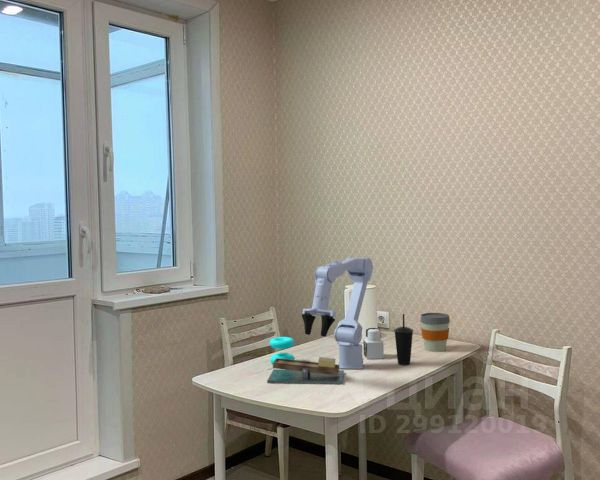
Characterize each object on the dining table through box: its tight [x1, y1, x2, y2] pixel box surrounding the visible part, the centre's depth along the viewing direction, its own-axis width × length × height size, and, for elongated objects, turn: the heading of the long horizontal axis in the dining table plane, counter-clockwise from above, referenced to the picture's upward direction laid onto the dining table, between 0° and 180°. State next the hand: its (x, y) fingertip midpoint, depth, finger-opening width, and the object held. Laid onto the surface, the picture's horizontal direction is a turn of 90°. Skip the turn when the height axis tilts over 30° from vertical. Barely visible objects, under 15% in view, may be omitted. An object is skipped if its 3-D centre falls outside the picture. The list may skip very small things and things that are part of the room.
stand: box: [266, 360, 345, 385], centre depth 210 cm, size 27×14×5 cm, turn 83°
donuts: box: [269, 336, 296, 365], centre depth 231 cm, size 10×10×10 cm
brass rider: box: [318, 356, 336, 369], centre depth 209 cm, size 6×4×3 cm
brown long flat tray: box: [272, 358, 340, 375], centre depth 210 cm, size 24×6×2 cm, turn 83°
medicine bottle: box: [362, 327, 385, 360], centre depth 238 cm, size 7×7×12 cm
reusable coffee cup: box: [420, 312, 451, 353], centre depth 248 cm, size 13×13×15 cm
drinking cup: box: [393, 313, 414, 366], centre depth 226 cm, size 8×8×20 cm
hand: (315, 335), depth 205 cm, fingers open, 7 cm apart
